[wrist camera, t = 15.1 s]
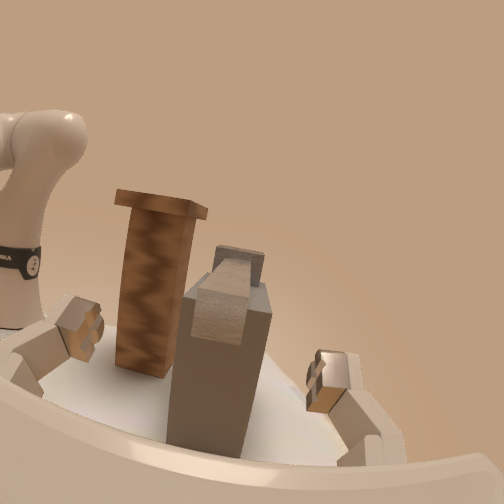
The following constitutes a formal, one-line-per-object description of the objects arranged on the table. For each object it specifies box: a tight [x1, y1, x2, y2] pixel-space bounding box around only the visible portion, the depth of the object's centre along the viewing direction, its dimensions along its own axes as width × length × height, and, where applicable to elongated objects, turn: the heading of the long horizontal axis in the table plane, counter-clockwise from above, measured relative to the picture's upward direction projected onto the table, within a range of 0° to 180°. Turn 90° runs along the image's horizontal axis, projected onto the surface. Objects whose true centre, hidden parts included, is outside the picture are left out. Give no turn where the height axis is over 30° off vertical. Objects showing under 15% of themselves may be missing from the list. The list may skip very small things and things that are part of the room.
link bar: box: [191, 245, 265, 346], centre depth 31 cm, size 6×26×4 cm, turn 0°
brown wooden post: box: [114, 189, 208, 378], centre depth 46 cm, size 10×16×26 cm, turn 1°
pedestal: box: [166, 273, 272, 458], centre depth 36 cm, size 8×16×17 cm, turn 1°
